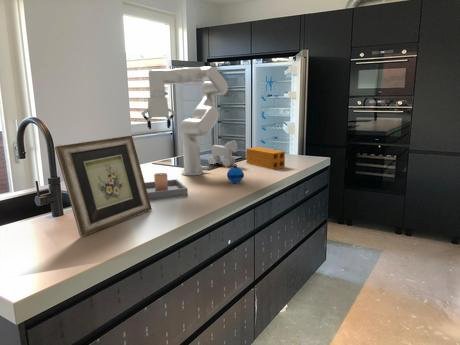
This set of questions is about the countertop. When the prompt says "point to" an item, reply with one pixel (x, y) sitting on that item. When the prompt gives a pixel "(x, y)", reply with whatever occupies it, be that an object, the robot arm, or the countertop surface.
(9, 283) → the countertop surface
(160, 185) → the terracotta cup
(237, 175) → the ornament
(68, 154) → the picture frame
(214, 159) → the pony
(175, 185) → the grey square tray
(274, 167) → the brick
